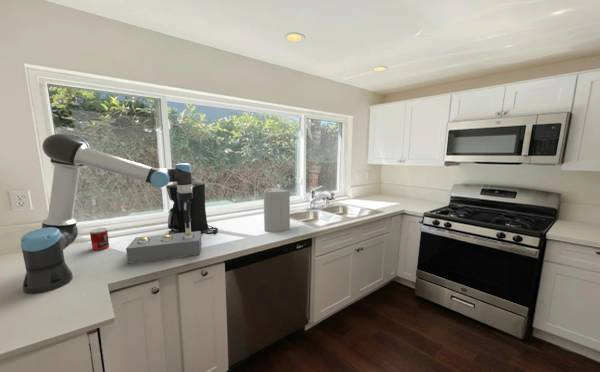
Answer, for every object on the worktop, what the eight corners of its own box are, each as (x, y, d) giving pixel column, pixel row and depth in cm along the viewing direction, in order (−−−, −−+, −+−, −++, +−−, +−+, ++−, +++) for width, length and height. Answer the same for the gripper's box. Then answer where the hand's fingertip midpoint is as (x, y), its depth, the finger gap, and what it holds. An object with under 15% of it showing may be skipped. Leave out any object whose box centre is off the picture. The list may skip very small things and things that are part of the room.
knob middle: (171, 249, 137) (170, 236, 136) (162, 250, 136) (161, 237, 135) (172, 246, 141) (171, 233, 140) (164, 247, 140) (162, 234, 139)
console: (200, 254, 137) (199, 240, 135) (127, 263, 126) (126, 248, 125) (201, 243, 152) (200, 230, 150) (137, 250, 141) (135, 237, 140)
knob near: (148, 252, 134) (147, 238, 132) (139, 253, 132) (137, 239, 131) (150, 249, 138) (149, 236, 137) (141, 250, 136) (140, 236, 135)
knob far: (193, 247, 141) (192, 234, 139) (184, 248, 139) (183, 235, 138) (193, 244, 145) (192, 231, 143) (185, 245, 143) (184, 232, 142)
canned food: (100, 251, 140) (97, 232, 138) (88, 250, 142) (86, 231, 140) (112, 246, 148) (110, 228, 146) (101, 245, 149) (99, 227, 147)
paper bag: (256, 228, 179) (255, 190, 174) (271, 223, 190) (271, 187, 185) (275, 234, 167) (274, 193, 162) (290, 229, 178) (290, 190, 173)
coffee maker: (175, 226, 183) (171, 181, 177) (221, 224, 188) (218, 180, 183) (164, 237, 161) (159, 186, 155) (216, 235, 166) (213, 185, 161)
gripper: (191, 193, 132) (194, 236, 136) (193, 189, 144) (196, 228, 148) (175, 194, 130) (179, 237, 133) (179, 190, 142) (182, 230, 146)
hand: (188, 232), depth 141 cm, fingers closed
